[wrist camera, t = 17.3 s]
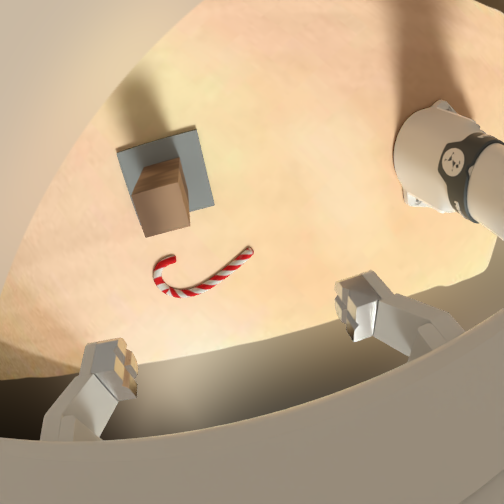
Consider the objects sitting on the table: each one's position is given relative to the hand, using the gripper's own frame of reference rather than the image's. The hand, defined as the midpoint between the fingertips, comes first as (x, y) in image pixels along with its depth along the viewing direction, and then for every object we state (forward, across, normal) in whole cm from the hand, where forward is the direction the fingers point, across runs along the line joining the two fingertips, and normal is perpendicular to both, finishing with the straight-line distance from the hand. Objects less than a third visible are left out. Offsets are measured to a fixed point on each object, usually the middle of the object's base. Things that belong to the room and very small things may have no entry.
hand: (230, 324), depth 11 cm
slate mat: (+29, +4, +2) cm, 30 cm away
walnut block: (+29, +4, +2) cm, 29 cm away
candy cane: (+30, +3, +16) cm, 34 cm away
